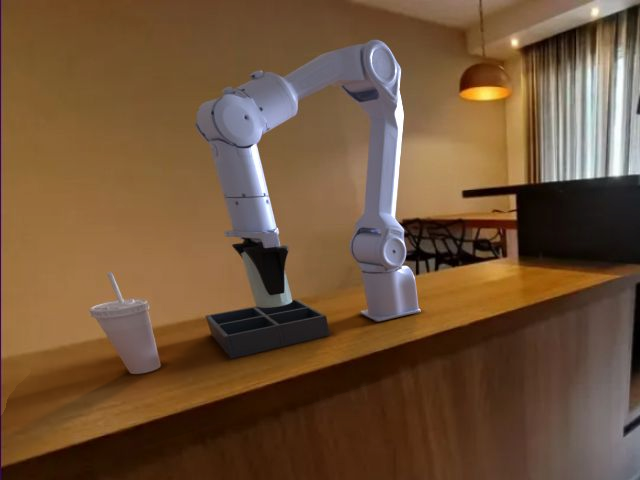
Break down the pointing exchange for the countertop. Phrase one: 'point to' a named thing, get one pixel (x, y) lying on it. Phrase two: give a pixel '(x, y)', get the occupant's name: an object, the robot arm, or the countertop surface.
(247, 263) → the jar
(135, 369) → the smoothie
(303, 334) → the tray
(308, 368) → the countertop surface
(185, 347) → the countertop surface
